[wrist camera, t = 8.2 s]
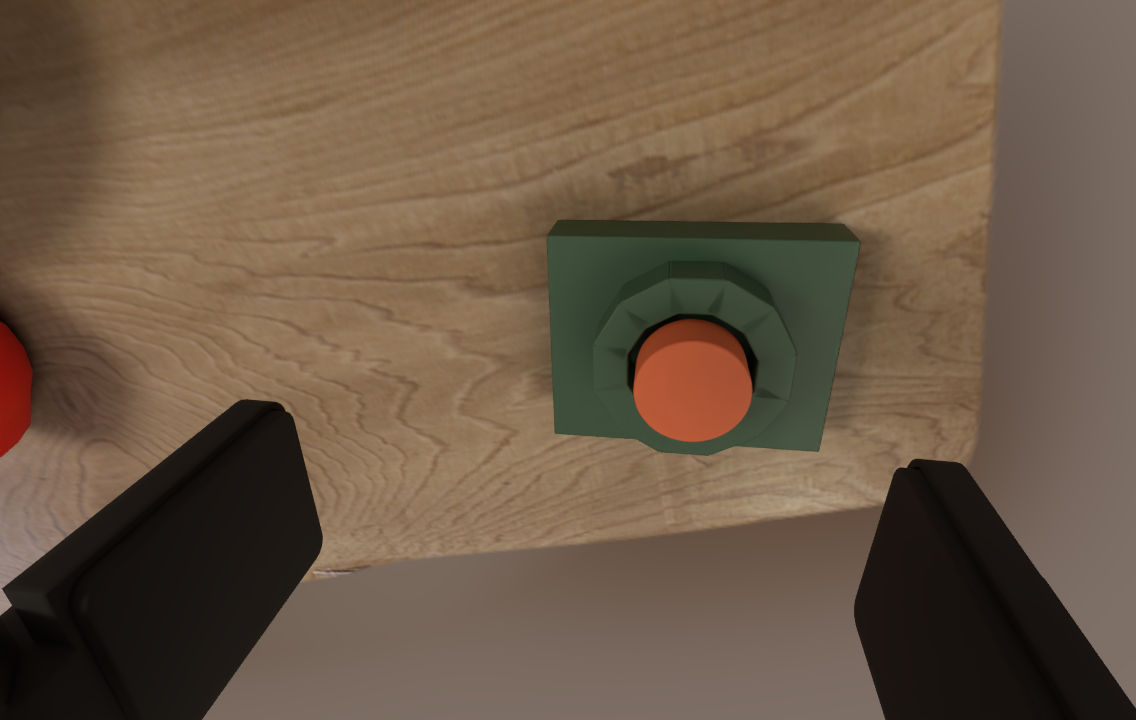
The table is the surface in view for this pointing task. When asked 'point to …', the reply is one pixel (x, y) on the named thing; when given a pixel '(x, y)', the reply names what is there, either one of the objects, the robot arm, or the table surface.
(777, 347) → the green button base
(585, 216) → the table surface
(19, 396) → the tomato
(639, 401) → the button
